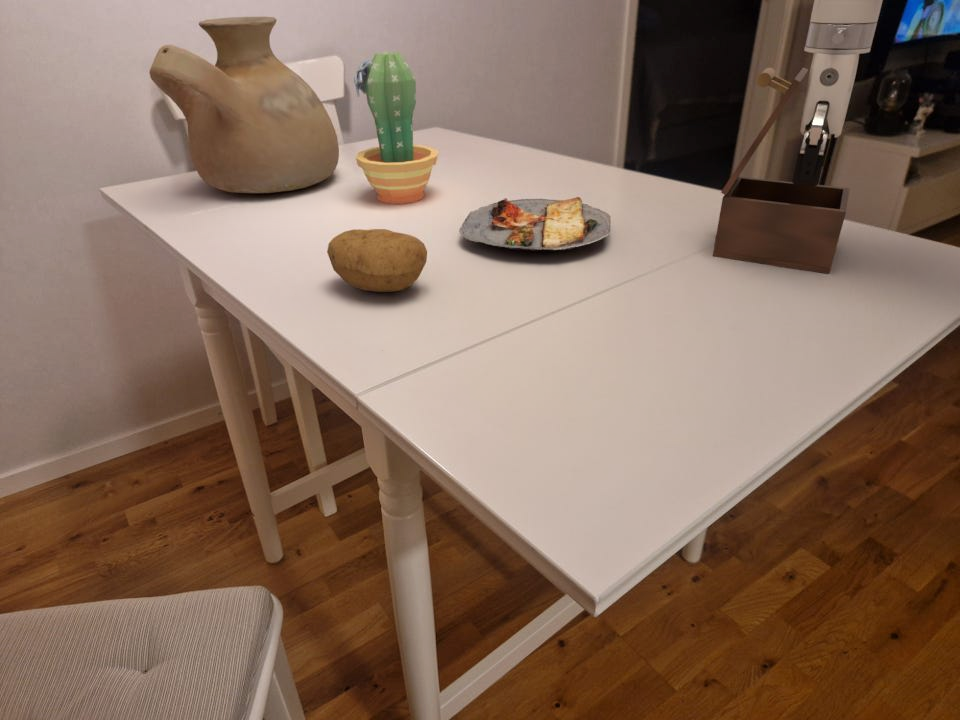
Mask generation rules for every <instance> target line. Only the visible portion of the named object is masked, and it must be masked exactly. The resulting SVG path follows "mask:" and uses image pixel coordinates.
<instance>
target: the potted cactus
mask: <svg viewBox="0 0 960 720" xmlns="http://www.w3.org/2000/svg"><path fill="white" fill-rule="evenodd" d="M355 72H356V73H355V74H354V79H353V83H354V86H355V91H356V96H357V97H360V91H361V92H362V93H363V95H366V102H367V105H368V109H369V110H370V113H371V115H372V117H373V120H374V125H375V131H376V135H377V141H378V146H374V147H370V148H367V149H365V150H362V151H359V152H358V153H357V154H356V156H355V162H356V164H357V166H358V167H359V168H361V169H362V171H363V173H364V176H365V177H366V181H368V183H369V184H370V186H371V187H372V188H373V189H374V190H375V192H377V198H376V199H377V200H378V201H380V202H381V203H385V204H391V205H395V204H397V205H399V204H401V205H403V204H404V205H405V204H410V203H415V202H418V201H420V200H423V199H424V197H425V192H424V190H425V187H426V186H427V184H428V183H429V181H430V178H431V174H432V170H433V168H434V167H433V166H435V165H437V161H438V155H439V150H437V149H436V148H434V147H431V146H428V145H418V144H414V132H413V131H414V128H413V116H414V114H415V113H414V112H415V108H416V104H417V87H416V86H417V84H416V83H417V80H416V77H415V75H414V72H413V71H412V68H411V67H410V66H409V65H408V63H407V62H406V60H405V59H404V58H403V56H402V55H401V53H400V52H398V51H394V52H392V53H391V52H390V53H389V52H388V51H383V53H378V52H375V54H374V56H373V57H372V59H371V60H370V59H366V60H364V61H363V62H361V63H360V65H359V66H358V68H357V70H356V71H355Z"/></svg>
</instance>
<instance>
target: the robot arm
mask: <svg viewBox="0 0 960 720" xmlns="http://www.w3.org/2000/svg"><path fill="white" fill-rule="evenodd" d="M883 1H884V0H814V1H813V6H812V9H811V15H810V20H809V24H808V30H807V34H806V39H805V44H804V49H803V51H804V52H806V53H812V60H811V64H810V68H809V73H808V80H807V83H806V90H805V94H804V101H803V105H802V113H801V120H800V128H799V133H800V134H801V135H803V138H802V143H801V145H800V151H799V152H798V153H797V157H796V162H795V166H794V170H793V175H792V179H791V182H792V183H793V184H800V185H810V186H817V185H819V182H820V179H821V175H822V170H823V168H824V166H825V162H826V159H827V153H828V149H829V146H830V141H831V138H829V137H830V135H834V139H835V138H838V137H840V136H841V135H842V131H843V128H844V124H845V120H846V116H847V112H848V109H849V105H850V100H851V96H852V92H853V90H854V89H853V88H854V84H855V79H856V75H857V70H858V65H859V61H860V60H859V59H860V54H861V55H862V54H867V53H870V52H871V50H872V49H871V48H872V45H873V40H874V37H875V32H876V28H877V25H878V20H879V17H880V13H881V9H882V4H883Z"/></svg>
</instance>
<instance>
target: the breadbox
mask: <svg viewBox="0 0 960 720" xmlns="http://www.w3.org/2000/svg"><path fill="white" fill-rule="evenodd" d="M850 189H851V188H850V187H841V186H832V185H824V184H818V185H817V186H810V185H800V184H793V183H792V181H784V180H775V179H765V178H756V177H746V176H738V178H737V179H736V181H735V182H734V184H733V185H732V187H731V188H730V190H729V191H728V193H727V194H726V195H724V194H723V196H722V199H721V205H720V211H719V216H718V224H717V229H716V233H715V234H716V235H715V240H714V246H713V252H712V256H713V257H718V258H724V259H730V260H738V261H744V262H750V263H756V264H764V265H770V266H777V267H783V268H790V269H796V270H802V271H808V272H809V271H810V272H815V273H822V274H827V275H829V274H830V273H831V269H832V265H833V262H834V257H835V254H836V250H837V247H838V244H839V239H840V237H841V232H842V229H843V225H844V221H845V218H846V214H847V208H848V202H849V196H850Z"/></svg>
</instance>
